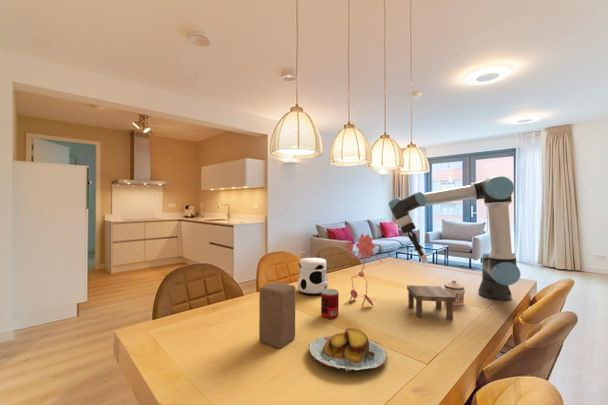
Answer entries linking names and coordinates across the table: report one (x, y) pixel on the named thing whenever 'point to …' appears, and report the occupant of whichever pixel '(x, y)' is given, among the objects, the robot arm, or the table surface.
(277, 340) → the wooden block
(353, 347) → the food on plate
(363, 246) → the figurine
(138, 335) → the table surface
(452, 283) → the teacup with lid
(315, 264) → the milk container
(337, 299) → the canned food
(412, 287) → the walnut footstool
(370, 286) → the table surface
